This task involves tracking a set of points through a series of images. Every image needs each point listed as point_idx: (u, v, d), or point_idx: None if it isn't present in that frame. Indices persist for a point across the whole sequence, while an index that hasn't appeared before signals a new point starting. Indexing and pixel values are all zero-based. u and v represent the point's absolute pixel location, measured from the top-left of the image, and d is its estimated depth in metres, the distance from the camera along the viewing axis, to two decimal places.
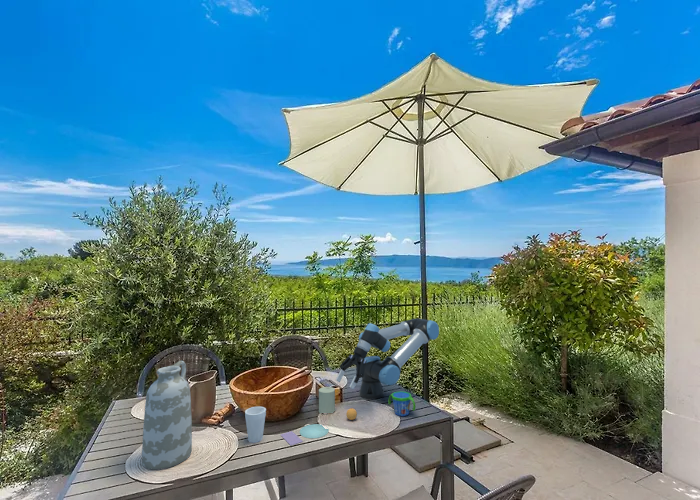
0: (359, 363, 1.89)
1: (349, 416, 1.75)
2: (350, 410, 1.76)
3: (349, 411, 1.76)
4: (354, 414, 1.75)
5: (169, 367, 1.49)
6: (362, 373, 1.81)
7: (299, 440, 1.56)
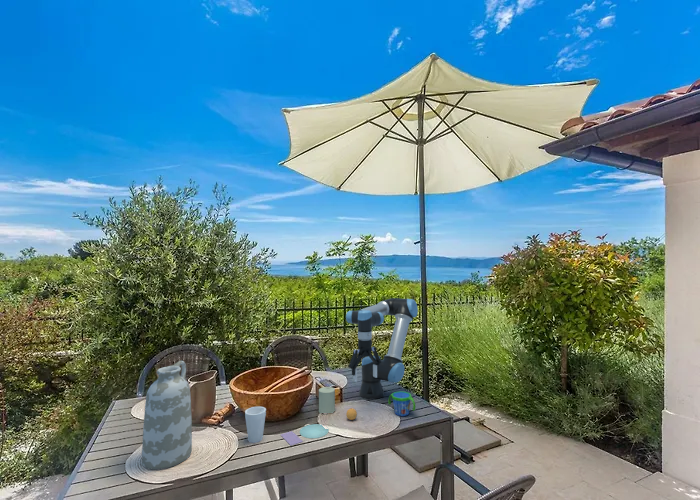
0: None
1: (349, 416, 1.75)
2: (350, 410, 1.76)
3: (349, 411, 1.76)
4: (354, 414, 1.75)
5: (169, 367, 1.49)
6: None
7: (299, 440, 1.56)
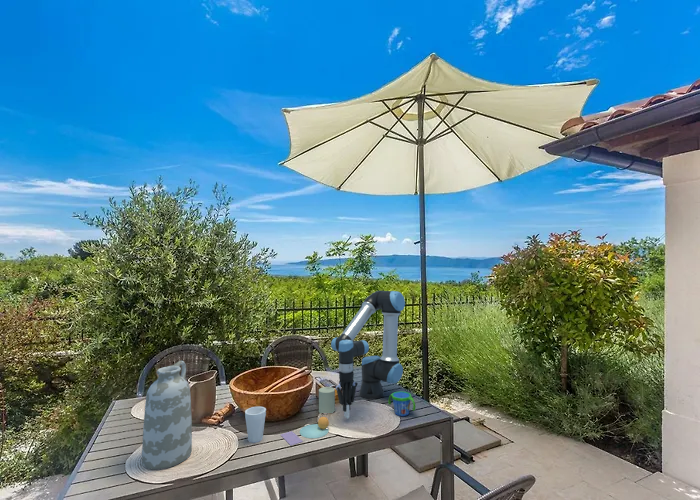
0: None
1: (320, 424, 1.65)
2: (323, 418, 1.67)
3: (321, 419, 1.67)
4: (326, 423, 1.66)
5: (169, 367, 1.49)
6: None
7: (299, 440, 1.56)
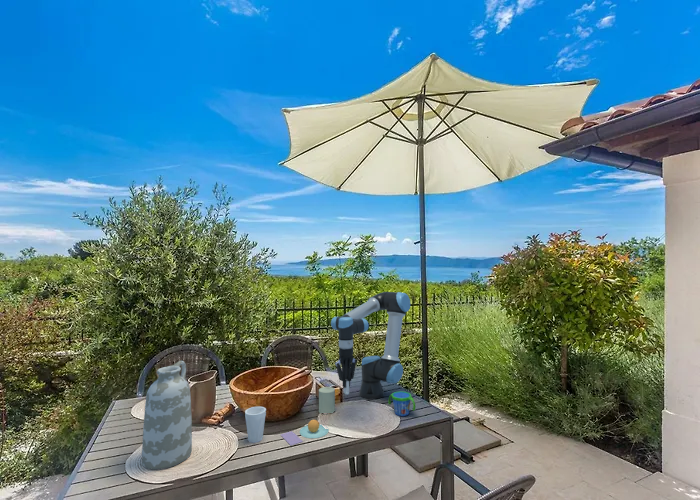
0: None
1: (315, 431, 1.64)
2: (310, 430, 1.63)
3: (311, 431, 1.63)
4: (314, 428, 1.62)
5: (169, 367, 1.49)
6: None
7: (299, 440, 1.56)
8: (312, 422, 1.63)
